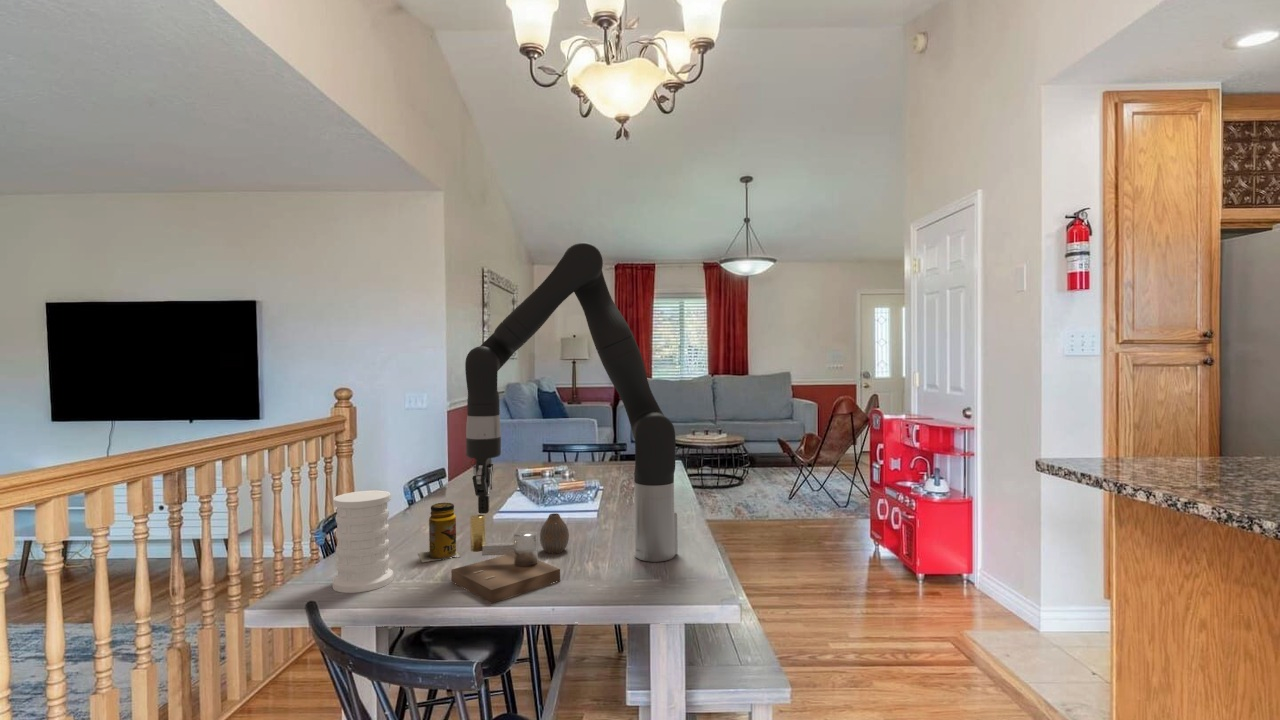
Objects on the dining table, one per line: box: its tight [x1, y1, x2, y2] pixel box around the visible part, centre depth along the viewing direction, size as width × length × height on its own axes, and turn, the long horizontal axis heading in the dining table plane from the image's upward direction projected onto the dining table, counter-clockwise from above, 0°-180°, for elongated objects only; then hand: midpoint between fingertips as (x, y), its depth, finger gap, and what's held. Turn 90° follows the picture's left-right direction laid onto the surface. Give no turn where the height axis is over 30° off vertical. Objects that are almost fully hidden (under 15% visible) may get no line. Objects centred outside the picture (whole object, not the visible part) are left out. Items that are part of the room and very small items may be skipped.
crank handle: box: [469, 514, 539, 566], centre depth 129 cm, size 14×5×10 cm, turn 94°
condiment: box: [418, 502, 461, 563], centre depth 143 cm, size 7×8×12 cm
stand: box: [450, 555, 561, 604], centre depth 126 cm, size 16×16×3 cm
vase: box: [539, 512, 570, 554], centre depth 145 cm, size 7×7×9 cm
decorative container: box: [332, 489, 395, 594], centre depth 126 cm, size 12×12×18 cm
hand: (483, 512), depth 136 cm, fingers closed
